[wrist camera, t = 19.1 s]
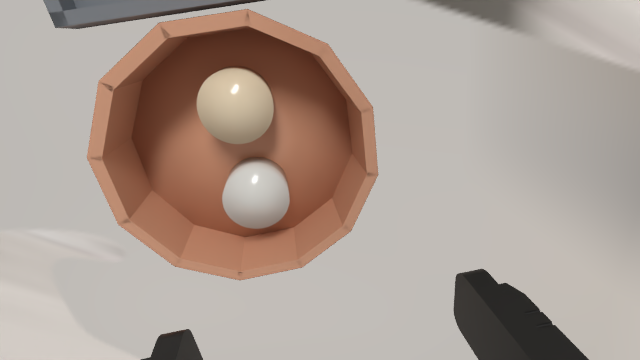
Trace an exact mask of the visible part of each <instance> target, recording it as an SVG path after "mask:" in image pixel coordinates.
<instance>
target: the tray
mask: <svg viewBox="0 0 640 360" xmlns="http://www.w3.org/2000/svg"><path fill="white" fill-rule="evenodd" d="M257 1H264V0H44V3H45V5H46V7H47V9H48V12H49V14H50V16H51V19H52V21H53V23H54V25H55V28H72V29H80V28H86V27H92V26H99V25H106V24H112V23H119V22H125V21H132V20H139V19H146V18H152V17H159V16H165V15H172V14H178V13H185V12H192V11H198V10H205V9H211V8H218V7H225V6H231V5H238V4H245V3H251V2H257Z"/></svg>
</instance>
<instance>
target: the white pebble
mask: <svg viewBox="0 0 640 360" xmlns="http://www.w3.org/2000/svg"><path fill="white" fill-rule="evenodd" d="M289 202H290V197H289V189H288V180H287V176H286V174H285V172H284V170H283V169H282V168H281V167H280V166H279V165H278V164H277V163H276V162H274V161H272V160H270V159H267V158H264V157H250V158H247V159H244V160H242V161H240V162H239V163H237V164H236V165H235V166H234V167H233V168H232V169H231V171H230V173H229V175H228V178H227V181H226V184H225V188H224V191H223V195H222V203H223V207H224V210H225V212H226V213H227V215H228V216H229V217H230V218H231V219H232V220H233V221H234V222H235V223H237V224H239V225H241V226H243V227H246V228H252V229H261V228H266V227H269V226H272V225H273V224H275V223H277V222H278V221H279V220H281V219H282V217H283V216H284V215H285V213H286V212H287V210H288V207H289Z"/></svg>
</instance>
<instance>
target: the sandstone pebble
mask: <svg viewBox="0 0 640 360" xmlns="http://www.w3.org/2000/svg"><path fill="white" fill-rule="evenodd" d="M197 111H198V115H199V118H200V120H201V122H202V124H203V126H204V127H205V128H206V129H207V131H208V132H209V133H210V134H212V135H213V136H214V137H216V138H217V139H219V140H221V141H224V142H227V143H231V144H245V143H249V142H252V141H254V140H256V139H258V138H259V137H261V136H262V135H263V134H264V133H265V132H266V130H267V129H268V128H269V126H270V124H271V122H272V118H273V113H274V104H273V95H272V91H271V88H270V86H269V84H268V83H267V81H266V80H265V79H264V78H263V77H262V76H261V75H260V74H259V73H258V72H256V71H255V70H253V69H251V68H248V67H244V66H229V67H226V68H223V69H221V70H219V71H217V72H216V73H214V74H212V75H211V76H210V77H208V78H207V79H206V80H205V82H204V83H203V84H202V86H201V88H200V90H199V93H198V96H197Z"/></svg>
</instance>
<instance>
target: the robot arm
mask: <svg viewBox="0 0 640 360" xmlns="http://www.w3.org/2000/svg"><path fill="white" fill-rule="evenodd" d="M454 316H455V319H456V322H457V325H458V327H459V329H460V331H461V333H462V334H463V336H464V338H465V339H466V340H467V342H468V344H469V345H470V347H471V348H472V350H473V351H474V353H475V355H476V356H477V358H478V359H479V360H589V359H588V358H587V357H586V356H584V354H583V353H582V352H581V351H580V350H579V349H578V348H577V347H576V346H575V345H574V344H573V343H572V342H571V341H570V340H569V339H568V338H567V337H566V336H565V335H564V334H563V333H562V332H561V331H560V330H559V329H558V328H557V327H556V326H555V325H552V321H550V319H548V317H547V316H546V315H545V314H544V313H543V312H540V310H539V308H538V307H537V306H536V305H535V304H534V303H533V302H532V301H531V300H530V299H529V298H528V297H527V296H526V295H525V294H524V293H522V292H520V291H519V290H517V289H515V288H514V287H512V286H510V285H508V284H507V283H503V284H498V283H497V282H496V281H495V280H494V279H493V278H492V277H491V275H490V274H489V273H488V272H487V271H485V270H484V269H479V270H474V271H469V272H464V273H460V274H457V276H456V281H455V298H454ZM141 360H203V358H202V356H201V353H200V351H199V349H198V347H197V344H196V342H195V340H194V337H193V335H192V333H191V331H190V330H189V329H186V330H181V331H176V332H172V333H167V334H162V335H160V336H159V337H158V339H157V341H156V344H155V347H154V349H153V352H152V355H151V357H150V358H146V359H141Z"/></svg>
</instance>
